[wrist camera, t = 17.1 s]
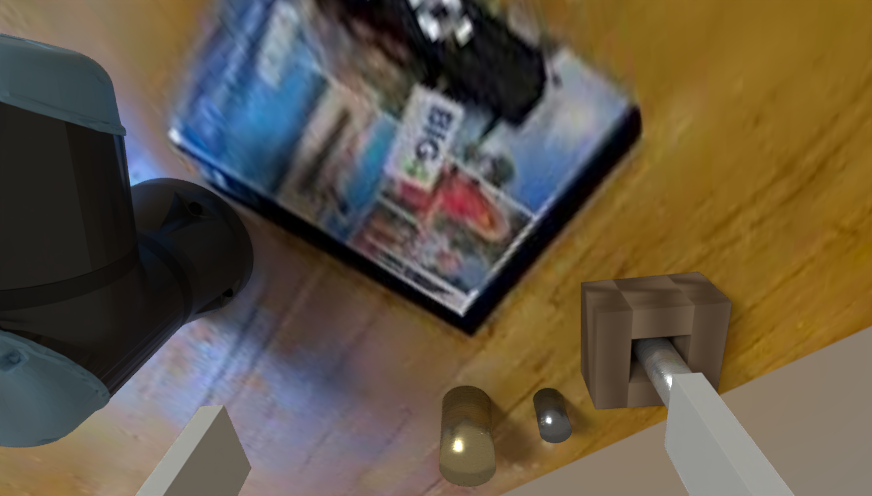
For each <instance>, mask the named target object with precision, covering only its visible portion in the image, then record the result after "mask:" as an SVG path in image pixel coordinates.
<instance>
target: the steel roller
mask: <svg viewBox="0 0 872 496" xmlns="http://www.w3.org/2000/svg"><path fill="white" fill-rule="evenodd" d="M631 348H632V349H633V351H634V353H635V355H636V356H637V358H638V360H639V361H640V363H641V365H642V367H643V368H644V370H645V372H646V373H647V375H648V377H649V379H650V380H651V382H652V384H653V385H654V387H655V389H656V391H657V392H658V394H659V396H660V397H661V399H662V401H663V403H664V404H665V406H666V408H667V409H669V400H670V391H671V382H672V375H673V374H688V373H692V371H691V370H690V369H689V367H688V366H687V365H686V363H685V362H684V360H683V359H682V358H681V356H680V355H679V354H678V352H677V351H676V350H675V348H674V347H673V345H672V344H671V343H670V341H669V340H668V339H667V337H666V336H665V337H652V338H639V339H631Z"/></svg>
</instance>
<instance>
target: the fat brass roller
mask: <svg viewBox="0 0 872 496" xmlns="http://www.w3.org/2000/svg"><path fill="white" fill-rule="evenodd" d="M439 469H440V472H441V474H442V475H443V477H444V478H445V479H446V480H448V481H449V482H451V483H453V484H456V485H459V486H466V487H471V486H478V485H481V484H483V483H485V482H487V481H489V480H490V479H491V478H492V477H493V475H494V473H495V470H496V463H495V451H494V440H493V428H492V416H491V405H490V400H489V397H488V396H487V394H486V393H485V392H484V391H482V390H481V389H479V388H476V387H473V386H459V387H456V388H453V389H451V390H450V391H449V392H447V394H446V395H445V396H444V398H443V402H442V421H441V440H440V460H439Z"/></svg>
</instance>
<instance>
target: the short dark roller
mask: <svg viewBox="0 0 872 496" xmlns="http://www.w3.org/2000/svg"><path fill="white" fill-rule="evenodd" d="M533 403H534V408H535V412H536V417H537V422H538V427H539V431H540V435H541V437H542V438H543V439H544V440H545V441H547V442H550V443H560V442H563V441H565V440H567V439H568V438H569V437H570V435H571V432H572V430H571V426H570V423H569V419H568V416H567V413H566V409H565V406H564V403H563V399H562V396H561V394H560V393H559V392H558V391H557V390H555V389H552V388H545V389H541V390H539V391H538V392H537V393H536V394H535V395H534V397H533Z"/></svg>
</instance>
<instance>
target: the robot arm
mask: <svg viewBox="0 0 872 496" xmlns="http://www.w3.org/2000/svg"><path fill="white" fill-rule="evenodd" d="M124 136H126V130H125V128H124V127H123V126H122V125H121V122H120V117H119V113H118V108H117V103H116V98H115V93H114V88H113V84H112V81H111V79H110V77H109V75H108V74H107V72H106V71H105V70H104V69H103V67H102V66H100V65H99V64H98V63H97V62H96V61H94V60H93V59H91V58H89V57H87V56H85V55H83V54H81V53H78V52H75V51H72V50H69V49H65V48H61V47H57V46H53V45H49V44H45V43H41V42H37V41H33V40H28V39H24V38H19V37H15V36H10V35H6V34H1V33H0V446H4V447H34V446H40V445H44V444H48V443H51V442H54V441H57V440H59V439H60V438H62V437H65V436H66V435H68V434H69V433H71V432H72V431H73V430H75V429H76V428H77V427H78V426H79V425H80V424H81V423H82V422H84V421H85V420H86V419H87V418H88V417H89V416H90V415H92V414H93V413H94V412H95V411H97V410H99V409H101V408H103V407H104V406H106V404H107V403H108V402H109V401H110V398H111V397H112V396H113V395H114V394H115V393H116V392H117V391H118V390H119V389H120V388H121V387H122V386H123V385H124V384H125V383H126V382H127V381H128V380H129V379H130V378H131V377H132V376H133V375H134V374H135V373H136V372H137V371H138V370H139V369H140V368H141V367H142V366H143V365H144V364H145V363H146V362H147V361H148V360H149V359H150V358H151V357H152V356H153V355H154V354H155V353H156V352H157V351H158V350H159V349H160V348H161V347H162V346H163V345H164V344H165V343H166V342H167V341H168V340H169V339H170V337H171V336H172V335H174V333H175V332H176V331H177V330H178V329H179V328H180V327H182V326H183V325H185V324H187V323H189V322H192V321H194V320H197V319H199V318H201V317H204V316H206V315H208V314H211V313H213V312H215V311H218V310H220V309H221V308H223V307H224V306H226V305H227V304H229V303H230V302H231V301H232V300H233V299H234V298H235V297H236V296H237V295H238V294H239V293H240V291H241V290H242V289H243V288H244V287H245V285H246V284H247V282H248V280H249V278H250V275H251V272H252V267H253V251H252V246H251V242H250V239H249V236H248V233H247V231H246V229H245V227H244V225H243V224H242V222H241V221H240V219H239V218H238V216H237V215H236V214H235V213H234V211H233V210H232V209H231V208H230V207H229V206H228V205H227V204H226V203H225V202H224V201H222V200H221V199H220V198H219V197H217V196H216V195H215V194H213V193H211V192H210V191H208V190H206V189H205V188H203V187H201V186H198V185H196V184H193V183H191V182H187V181H184V180H179V179H173V178H156V179H150V180H147V181H144V182H141V183H138V184H136V185H134V186H131V187H130V180H129V173H128V165H127V157H126V150H125V142H124ZM664 446H665V449H666V451H667V453H668V455H669V457H670V459H671V461H672V462H673V464H674V466H675V468H676V470H677V472H678V474H679V476H680V478H681V480H682V482H683V484H684V485H685V488H686V490H687V492H688V493H689V495H690V496H794V494H793V493H792V492H791V490H790V489H789V488H788V486H787V485H786V484H785V482H784V481H783V480H782V479H781V477H780V476H779V474H778V473H777V472H776V471H775V469H774V468H773V466H772V465H771V464H770V462H769V461H768V460H767V458H766V457H765V456H764V454H763V453H762V452H761V451H760V449H759V448H758V447H757V445H756V444H755V443H754V441H753V440H752V439H751V437H750V436H749V435H748V434H747V432H746V431H745V429H744V428H743V427H742V425H741V424H740V423H739V421H738V420H737V419H736V417H735V416H734V415H733V413H732V412H731V411H730V410H729V408H728V407H727V406H726V404H725V403H724V402H723V400H722V399H721V398H720V396H719V395H718V394H717V392H716V391H715V390H714V388H713V387H712V386H711V384H710V383H709V382H708V380H707V379H706V378H705V376H704V375H703V374H702V373H688V374H673V375H672V382H671V391H670V400H669V409H668V418H667V427H666V436H665V445H664ZM250 470H251V466H250V464H249V461H248V459H247V457H246V455H245V452H244V450H243V448H242V445H241V443H240V441H239V438H238V436H237V434H236V432H235V429H234V427H233V425H232V422H231V420H230V418H229V415H228V413H227V411H226V409H225V406H224V405H214V406H200V408H199V409H198V410H197V412H196V413H195V415H194V416H193V417H192V419H191V420H190V421H189V423H188V424H187V425H186V427H185V428H184V430H183V431H182V432H181V434H180V435H179V436H178V438H177V439H176V440H175V442H174V443H173V445H172V446H171V447H170V449H169V450H168V451H167V453H166V454H165V455H164V457H163V458H162V459H161V461H160V462H159V464H158V465H157V466H156V468H155V469H154V470H153V472H152V473H151V474H150V476H149V477H148V479H147V480H146V481H145V483H144V484H143V485H142V487H141V488H140V489H139V491H138V492H137V494H136V495H135V496H238V494H239V492H240V490H241V488H242V486H243V484H244V482H245V480H246V478H247V476H248V474H249V472H250Z"/></svg>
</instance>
